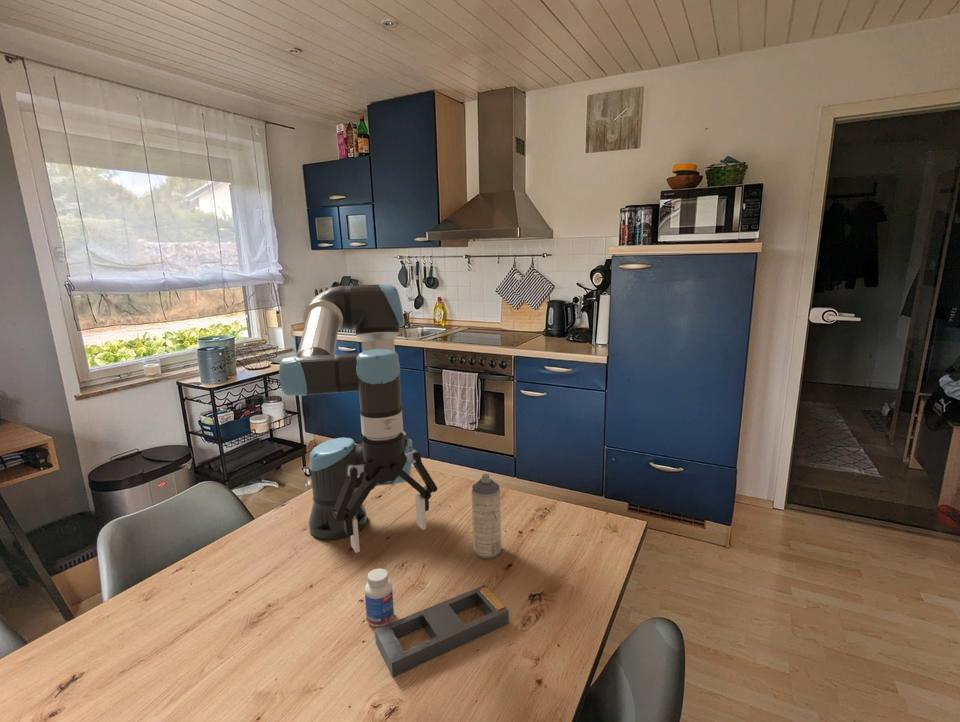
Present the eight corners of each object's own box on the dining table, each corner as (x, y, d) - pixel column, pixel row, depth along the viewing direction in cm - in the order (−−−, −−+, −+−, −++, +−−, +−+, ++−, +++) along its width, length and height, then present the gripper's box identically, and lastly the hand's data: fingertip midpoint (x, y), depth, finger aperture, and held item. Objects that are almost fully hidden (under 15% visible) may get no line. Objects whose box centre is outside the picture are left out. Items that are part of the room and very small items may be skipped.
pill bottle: (387, 629, 95) (384, 585, 93) (362, 625, 96) (358, 582, 94) (398, 609, 100) (395, 567, 98) (373, 606, 101) (370, 564, 99)
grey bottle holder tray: (375, 643, 92) (374, 628, 91) (485, 597, 103) (484, 583, 103) (392, 677, 84) (391, 662, 83) (508, 623, 96) (508, 609, 95)
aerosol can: (504, 545, 122) (503, 471, 117) (496, 561, 115) (495, 483, 111) (478, 540, 124) (477, 467, 120) (469, 556, 118) (467, 479, 113)
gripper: (319, 456, 80) (330, 569, 85) (451, 425, 93) (455, 526, 98) (308, 442, 87) (319, 548, 91) (433, 415, 100) (437, 510, 104)
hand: (389, 537), depth 95 cm, fingers open, 13 cm apart
